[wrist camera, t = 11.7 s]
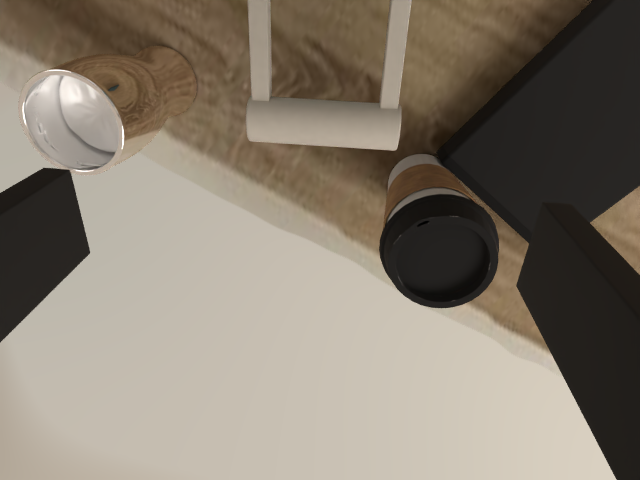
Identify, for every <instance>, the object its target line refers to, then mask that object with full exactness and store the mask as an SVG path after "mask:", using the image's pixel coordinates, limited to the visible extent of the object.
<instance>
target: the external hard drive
mask: <svg viewBox="0 0 640 480" xmlns="http://www.w3.org/2000/svg"><path fill="white" fill-rule="evenodd" d="M436 153H437V155H438V157H439V159H440V161H441V163H442V164H443V165H444V166H446V167H447V168H448V169H449V170H450V171H451V172H452V173H453V174H454V175H455V176H456V177H458V178H459V179H460V180H461V181H462V182H463V183H464V184H465V185H466V186H467V187H468V188H470V189H471V190H472V191H473V192H474V193H475V194H476V195H477V196H478V197H479V198H480V199H481V200H483V201H484V202H485V203H486V204H487V205H488V206H489V207H490V208H491V209H492V210H493V211H495V212H496V213H497V214H498V215H499V216H500V217H501V218H502V219H503V220H504V221H505V222H507V223H508V224H509V225H510V226H511V227H512V228H513V229H514V230H515V231H516V232H517V233H519V234H520V235H521V236H522V237H523V238H524V239H525V240H526V241H527V242H528V243H530V240H531V237H532V234H533V230H534V227H535V224H536V221H537V217H538V214H539V211H540V208H541V205H542V202H549V203H564V204H572V205H573V206H574V207H575V208H576V209H577V210H578V211H579V213H580V214H581V215H582V216H583V217H584V218H585V219H586V220H587V221H588V222H589V223H590V222H591V221H593V220H594V219H595V218H597V217H598V216H599V215H601V214H602V213H604V212H605V211H606V210H608V209H609V208H610V207H612V206H613V205H614V204H616V203H617V202H618V201H620V200H621V199H622V198H624V197H625V196H626V195H628V194H629V193H630V192H632V191H633V190H634V189H636V188H637V187H639V186H640V0H593V1H592V2H591V3H590V4H589V5H588V6H587V7H586V8H585V9H584V10H583V11H582V12H581V13H580V14H579V15H578V16H577V17H576V18H574V19H573V20H572V21H571V22H570V23H569V24H568V25H567V26H566V27H565V28H564V29H563V30H562V31H561V32H560V33H559V34H558V35H557V36H556V37H555V38H554V39H553V40H552V41H551V42H550V43H549V44H548V45H547V46H546V47H545V48H543V49H542V50H541V51H540V52H539V53H538V54H537V55H536V56H535V57H534V58H533V59H532V60H531V61H530V62H529V63H528V64H527V65H526V66H525V67H524V68H523V69H522V70H521V71H520V72H519V73H518V74H517V75H516V76H515V77H514V78H513V79H511V80H510V81H509V82H508V83H507V84H506V85H505V86H504V87H503V88H502V89H501V90H500V91H499V92H498V93H497V94H496V95H495V96H494V97H493V98H492V99H491V100H490V101H489V102H488V103H487V104H486V105H485V106H484V107H483V108H482V109H480V110H479V111H478V112H477V113H476V114H475V115H474V116H473V117H472V118H471V119H470V120H469V121H468V122H467V123H466V124H465V125H464V126H463V127H462V128H461V129H460V130H459V131H458V132H457V133H456V134H455V135H454V136H453V137H452V138H451V139H450V140H448V141H447V142H446V143H445V144H444V146H442V147H441V148H440V149H439V150H438V151H437V152H436Z"/></svg>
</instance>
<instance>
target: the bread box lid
mask: <svg viewBox="0 0 640 480" xmlns="http://www.w3.org/2000/svg"><path fill="white" fill-rule="evenodd" d="M411 2H412V0H390V6H389V15H388V25H387V34H386V44H385V53H384V62H383V72H382V81H381V91H380V100H379V103H367V102H351V101H334V100H318V99H301V98H285V97H272V69H271V9H270V0H248V21H249V46H250V71H251V96H250V97H249V100H248V103H247V109H246V131H247V136H248V139H249V140H250V141H255V142H270V143H286V144H301V145H316V146H331V147H347V148H362V149H377V150H392V151H395V150H396V149H397V147H398V143H399V137H400V129H401V105H399V104H398V103H399V95H400V88H401V80H402V72H403V64H404V56H405V49H406V41H407V33H408V25H409V17H410V9H411Z"/></svg>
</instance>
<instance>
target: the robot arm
mask: <svg viewBox="0 0 640 480" xmlns="http://www.w3.org/2000/svg"><path fill="white" fill-rule="evenodd" d="M89 254H90V250H89V246H88V242H87V237H86V233H85V230H84V225H83V221H82V217H81V213H80V209H79V205H78V201H77V197H76V192H75V188H74V184H73V180H72V176H71V172H70V170H68V169H53V168H43V169H41V170H39V171H37V172H36V173H34V174H32V175H31V176H29V177H28V178H26V179H24V180H22V181H20V182H19V183H17V184H15V185H13V186H12V187H10V188H8V189H6V190H5V191H3V192H1V193H0V342H1V341H2V340H3V339H4V338H5V337H6V336H7V335H8V334H9V333H10V332H11V331H12V330H13V329H14V328H15V327H16V326H17V325H18V324H19V323H20V322H21V321H22V320H23V319H24V318H25V317H26V316H27V315H28V314H29V313H30V312H31V311H32V310H33V309H34V308H35V307H36V306H37V305H38V304H39V303H40V302H41V301H42V300H43V299H44V298H45V297H46V296H47V295H48V294H49V293H50V292H51V291H52V290H53V289H54V288H55V287H56V286H57V285H58V284H59V283H60V282H61V281H62V280H63V279H64V278H66V277H67V276H68V274H69V273H71V272H72V271H73V270H74V269H75V267H77V265H78V264H80V262H82V261H83V259H85V258H86V257H87V256H88V255H89ZM516 286H517V288H518V290H519V292H520V294H521V296H522V298H523V300H524V302H525V304H526V306H527V307H528V309H529V311H530V313H531V315H532V317H533V319H534V321H535V323H536V325H537V327H538V329H539V331H540V333H541V335H542V336H543V338H544V340H545V342H546V344H547V346H548V348H549V350H550V352H551V354H552V356H553V358H554V360H555V362H556V364H557V365H558V367H559V369H560V371H561V373H562V375H563V377H564V379H565V381H566V383H567V385H568V387H569V389H570V390H571V393H572V394H573V396H574V398H575V400H576V402H577V404H578V406H579V408H580V410H581V412H582V414H583V416H584V418H585V419H586V421H587V423H588V425H589V427H590V429H591V431H592V433H593V435H594V437H595V439H596V441H597V443H598V445H599V447H600V448H601V450H602V452H603V454H604V456H605V458H606V460H607V462H608V464H609V466H610V468H611V470H612V472H613V474H614V476H615V477H616V479H617V480H640V275H639V274H638V273H637V272H636V271H635V270H634V269H633V268H632V267H631V266H630V265H629V264H628V263H627V261H626V260H625V259H624V258H623V257H622V256H621V255H620V254H619V253H618V252H617V251H616V250H615V249H614V248H613V247H612V246H611V245H610V244H609V243H608V242H607V241H606V240H605V239H604V238H603V236H602V235H601V234H600V233H599V232H598V231H597V230H596V229H595V228H594V227H593V226H592V225H591V224H590V223H589V222H588V221H587V220H586V219H585V218H584V217H583V216H582V215H581V214H580V213H579V211H578V210H577V209H576V208H575V207H574V206H573V205H572V204H564V203H549V202H542V205H541V208H540V211H539V214H538V217H537V221H536V224H535V227H534V230H533V234H532V237H531V240H530V243H529V246H528V250H527V253H526V256H525V259H524V262H523V266H522V269H521V272H520V275H519V279H518V282H517V285H516Z"/></svg>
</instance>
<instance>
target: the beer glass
mask: <svg viewBox="0 0 640 480" xmlns="http://www.w3.org/2000/svg"><path fill="white" fill-rule="evenodd" d="M196 91H197V83H196V77H195V74H194V72H193V69H192V67H191V66H190V64H189V63H188V61H187V60H186V59H185V58H184V57H183V56H182V55H181V54H179V53H178V52H176V51H175V50H173V49H171V48H168V47H165V46H150V47H147V48H144V49H142V50H141V51H139V52H138V53H137V54H136V55H135V56H127V55H117V54H97V55H91V56H85V57H81V58H77V59H74V60H71V61H68V62H65V63H63V64H60V65H58V66H56V67H53V68H51V69H49V70H45V71H42V72H39V73H37V74H36V75H34V76H33V77H31V78H30V79H29V80H28V81H27V82H26V84H25V85H24V87H23V89H22V91H21V94H20V97H19V107H18V108H19V118H20V122H21V125H22V128H23V130H24V132H25V135H26V136H27V138H28V140H29V141H30V143H31V144H32V146H33V147H34V148H35V149H36V151H37V152H38V153H39V154H40V155H41V156H42V157H43V158H45V159H46V160H47V161H48V162H50V163H51V164H53V165H54V166H56V167H58V168H60V169H68V170H70V172H71V173H73V174H77V175H95V174H99V173H102V172H105V171H106V170H108V169H110V168H111V167H113V166H114V165H116V164H118V163H120V162H122V161H124V160H126V159H128V158H130V157H131V156H133V155H134V154H136V153H137V152H139V151H140V150H142V149H143V148H144V147H145V146H146V145H148V144H149V143H150V142H151V141H152V140H153V138H154V137H155V136H156V135H157V134H158V132H159V131H160V129H161V128H162V126H163V125H164V123H165V122H166V120H167V118H168V117H172V116H177V115H180V114H182V113H184V112H185V111H186V110H188V109H189V108H190V106H191V105H192V103H193V102H194V99H195V96H196Z"/></svg>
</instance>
